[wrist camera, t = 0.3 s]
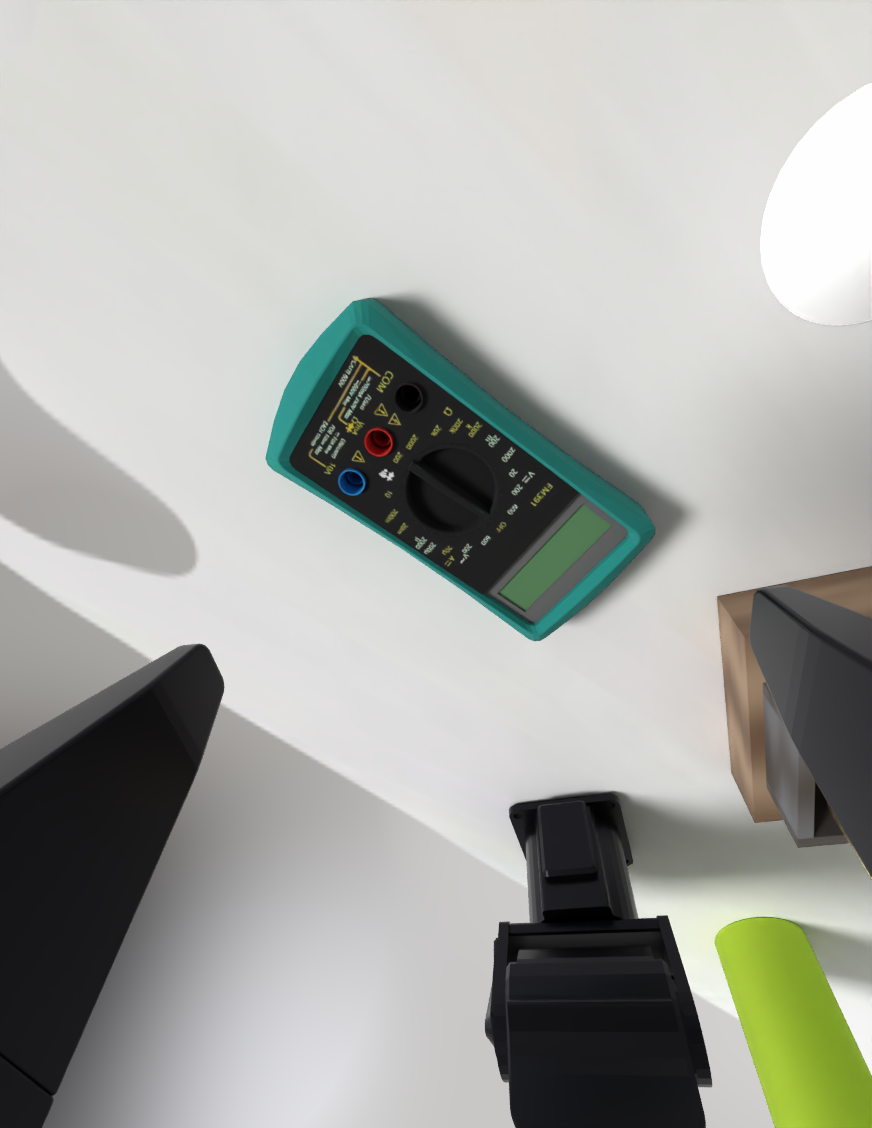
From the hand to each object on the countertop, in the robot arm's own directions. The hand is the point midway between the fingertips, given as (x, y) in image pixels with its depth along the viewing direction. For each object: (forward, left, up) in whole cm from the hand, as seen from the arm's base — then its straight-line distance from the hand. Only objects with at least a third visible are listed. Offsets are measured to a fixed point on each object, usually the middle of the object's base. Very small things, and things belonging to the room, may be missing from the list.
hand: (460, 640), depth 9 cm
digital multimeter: (-2, +1, -15) cm, 15 cm away
